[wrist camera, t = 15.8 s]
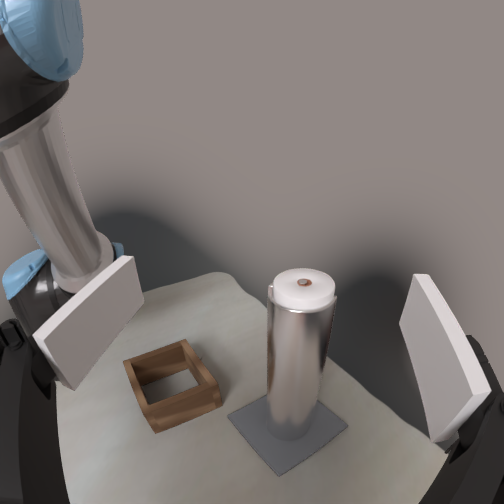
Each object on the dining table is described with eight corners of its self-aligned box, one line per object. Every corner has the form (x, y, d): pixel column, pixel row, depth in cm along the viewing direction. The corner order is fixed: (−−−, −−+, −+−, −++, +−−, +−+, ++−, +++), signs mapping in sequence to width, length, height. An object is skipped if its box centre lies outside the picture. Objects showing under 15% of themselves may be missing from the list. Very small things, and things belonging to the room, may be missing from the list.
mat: (227, 417, 37) (227, 415, 36) (293, 381, 43) (293, 379, 43) (278, 476, 27) (279, 475, 27) (347, 426, 33) (348, 425, 33)
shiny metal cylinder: (280, 401, 39) (288, 259, 28) (317, 416, 35) (347, 274, 25) (257, 429, 34) (252, 287, 24) (296, 448, 30) (321, 310, 20)
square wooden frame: (133, 383, 42) (122, 361, 40) (191, 361, 48) (185, 338, 46) (155, 433, 33) (143, 414, 30) (222, 405, 39) (218, 383, 36)
